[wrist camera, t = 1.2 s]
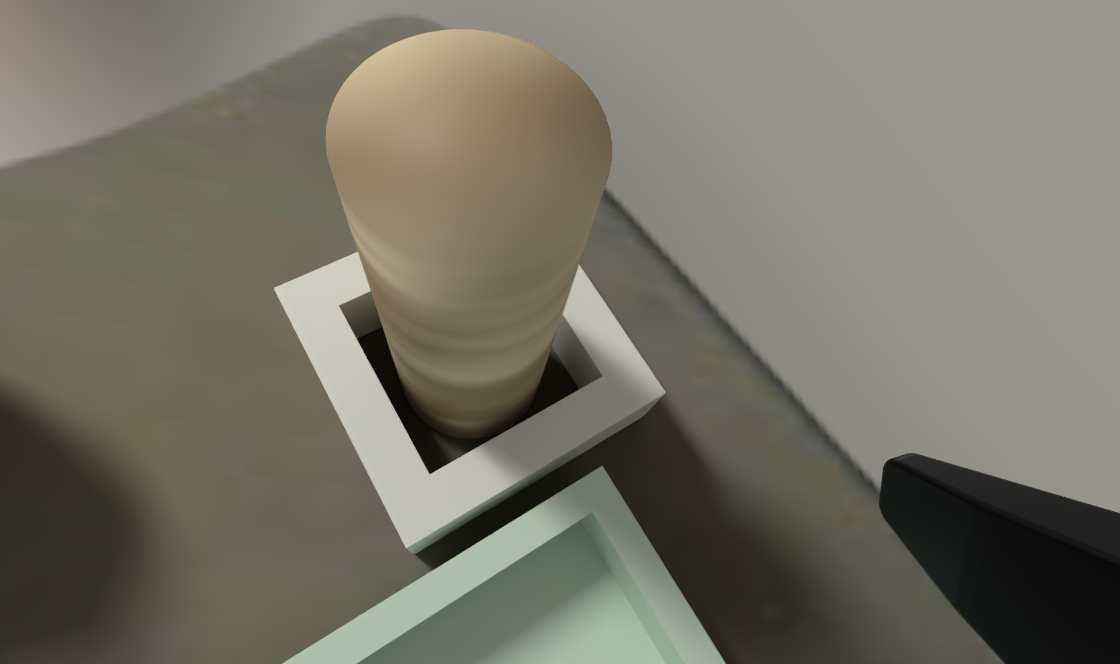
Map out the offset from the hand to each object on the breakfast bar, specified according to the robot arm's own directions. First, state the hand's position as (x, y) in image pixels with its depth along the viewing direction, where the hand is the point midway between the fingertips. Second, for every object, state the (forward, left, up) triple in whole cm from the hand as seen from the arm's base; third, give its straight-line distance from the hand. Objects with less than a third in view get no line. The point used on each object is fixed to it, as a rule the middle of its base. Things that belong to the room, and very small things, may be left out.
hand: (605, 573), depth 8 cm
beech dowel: (+7, -2, -13) cm, 15 cm away
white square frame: (+7, -2, -13) cm, 15 cm away
